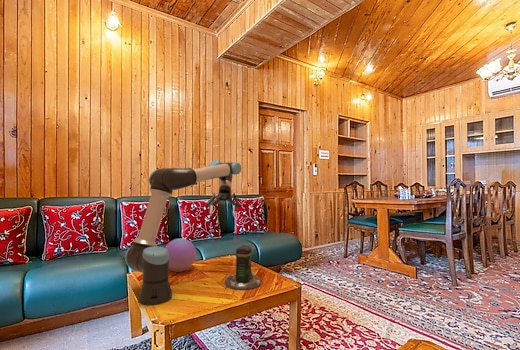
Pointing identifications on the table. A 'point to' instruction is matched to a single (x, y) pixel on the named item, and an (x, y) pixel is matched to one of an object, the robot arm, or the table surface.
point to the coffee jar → (243, 263)
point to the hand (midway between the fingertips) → (222, 214)
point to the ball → (180, 254)
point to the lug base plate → (236, 285)
